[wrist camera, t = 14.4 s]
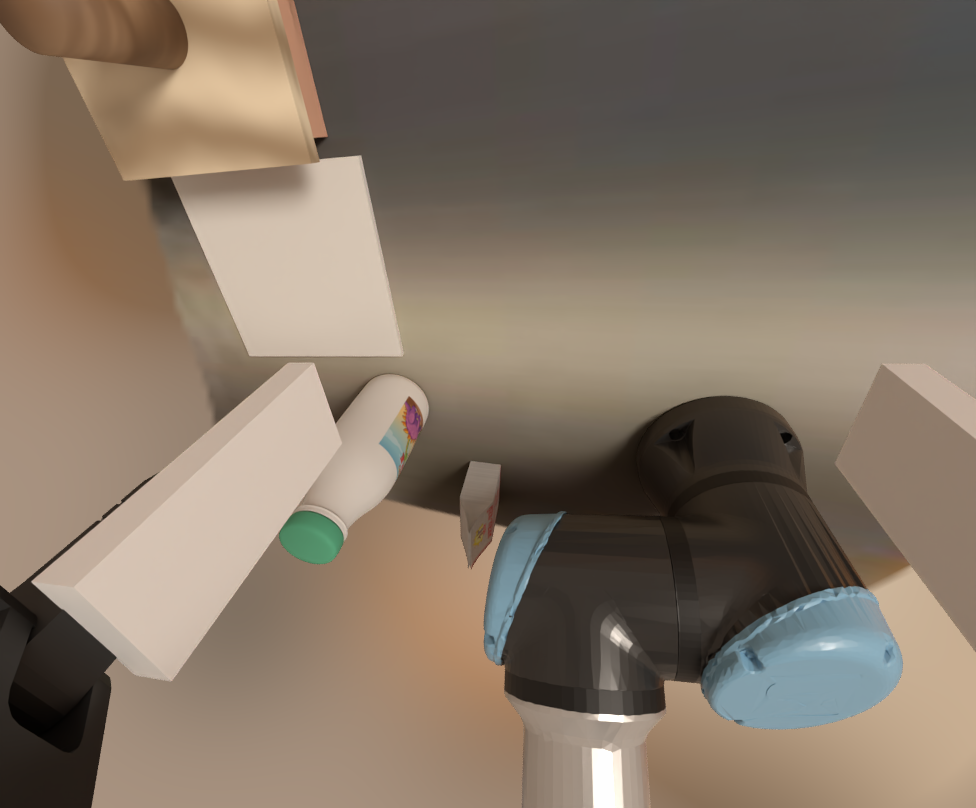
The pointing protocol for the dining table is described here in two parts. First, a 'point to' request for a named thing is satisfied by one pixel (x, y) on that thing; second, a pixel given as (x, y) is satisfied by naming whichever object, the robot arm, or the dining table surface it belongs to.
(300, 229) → the mat
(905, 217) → the dining table surface
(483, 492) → the grey box
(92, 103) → the lid
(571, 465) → the dining table surface
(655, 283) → the dining table surface
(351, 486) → the milk bottle
